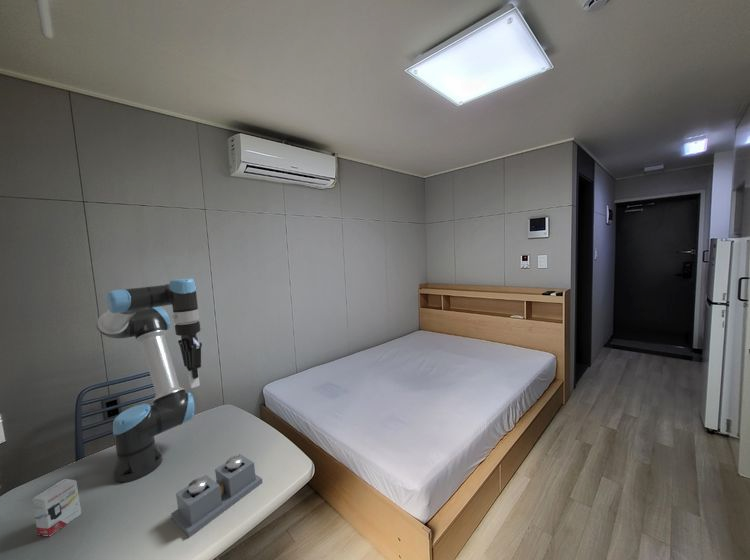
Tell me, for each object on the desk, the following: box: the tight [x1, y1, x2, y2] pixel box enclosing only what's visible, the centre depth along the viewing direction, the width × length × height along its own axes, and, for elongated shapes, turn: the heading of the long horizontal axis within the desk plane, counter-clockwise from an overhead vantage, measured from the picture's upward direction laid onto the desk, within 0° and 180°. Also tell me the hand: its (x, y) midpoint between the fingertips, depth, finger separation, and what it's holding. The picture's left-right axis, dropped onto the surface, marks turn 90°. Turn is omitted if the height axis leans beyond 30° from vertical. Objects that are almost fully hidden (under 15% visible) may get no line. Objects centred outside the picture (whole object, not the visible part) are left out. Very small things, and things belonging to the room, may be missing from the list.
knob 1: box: [187, 476, 207, 498], centre depth 94 cm, size 5×5×8 cm
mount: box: [170, 453, 263, 538], centre depth 99 cm, size 12×24×8 cm, turn 145°
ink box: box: [31, 478, 82, 536], centre depth 93 cm, size 9×5×12 cm, turn 168°
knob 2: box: [225, 454, 243, 473], centre depth 104 cm, size 5×5×8 cm
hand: (194, 386), depth 108 cm, fingers closed
